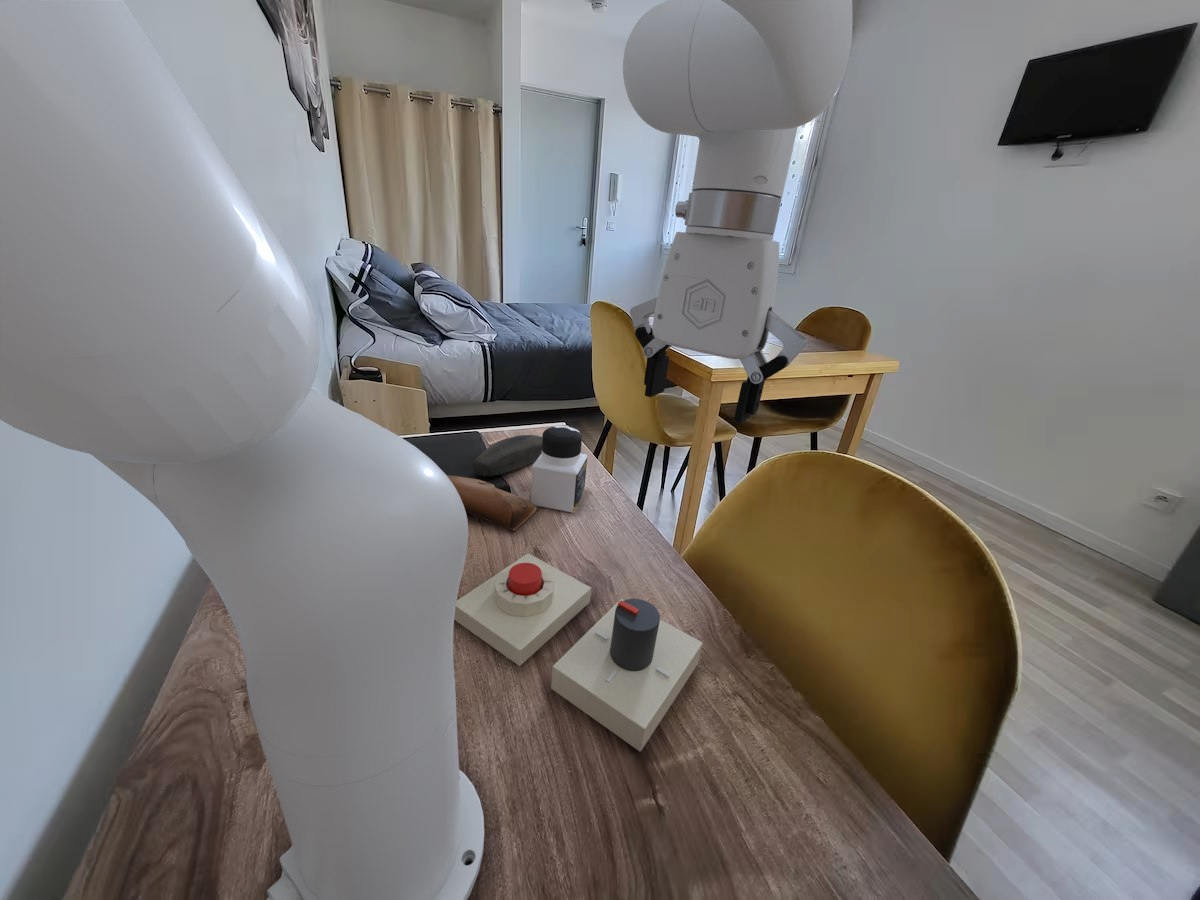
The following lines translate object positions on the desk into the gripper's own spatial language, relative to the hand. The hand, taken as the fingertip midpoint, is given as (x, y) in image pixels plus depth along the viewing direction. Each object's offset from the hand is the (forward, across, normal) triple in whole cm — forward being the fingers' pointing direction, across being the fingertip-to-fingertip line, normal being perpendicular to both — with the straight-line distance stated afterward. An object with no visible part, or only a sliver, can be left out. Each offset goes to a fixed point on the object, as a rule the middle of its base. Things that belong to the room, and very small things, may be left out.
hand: (696, 406), depth 49 cm
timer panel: (+25, +3, -12) cm, 28 cm away
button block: (+25, -11, -12) cm, 30 cm away
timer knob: (+22, +3, -12) cm, 25 cm away
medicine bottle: (+25, -24, +10) cm, 36 cm away
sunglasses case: (+25, -32, 0) cm, 41 cm away
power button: (+21, -11, -12) cm, 27 cm away
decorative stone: (+25, -38, +14) cm, 48 cm away
